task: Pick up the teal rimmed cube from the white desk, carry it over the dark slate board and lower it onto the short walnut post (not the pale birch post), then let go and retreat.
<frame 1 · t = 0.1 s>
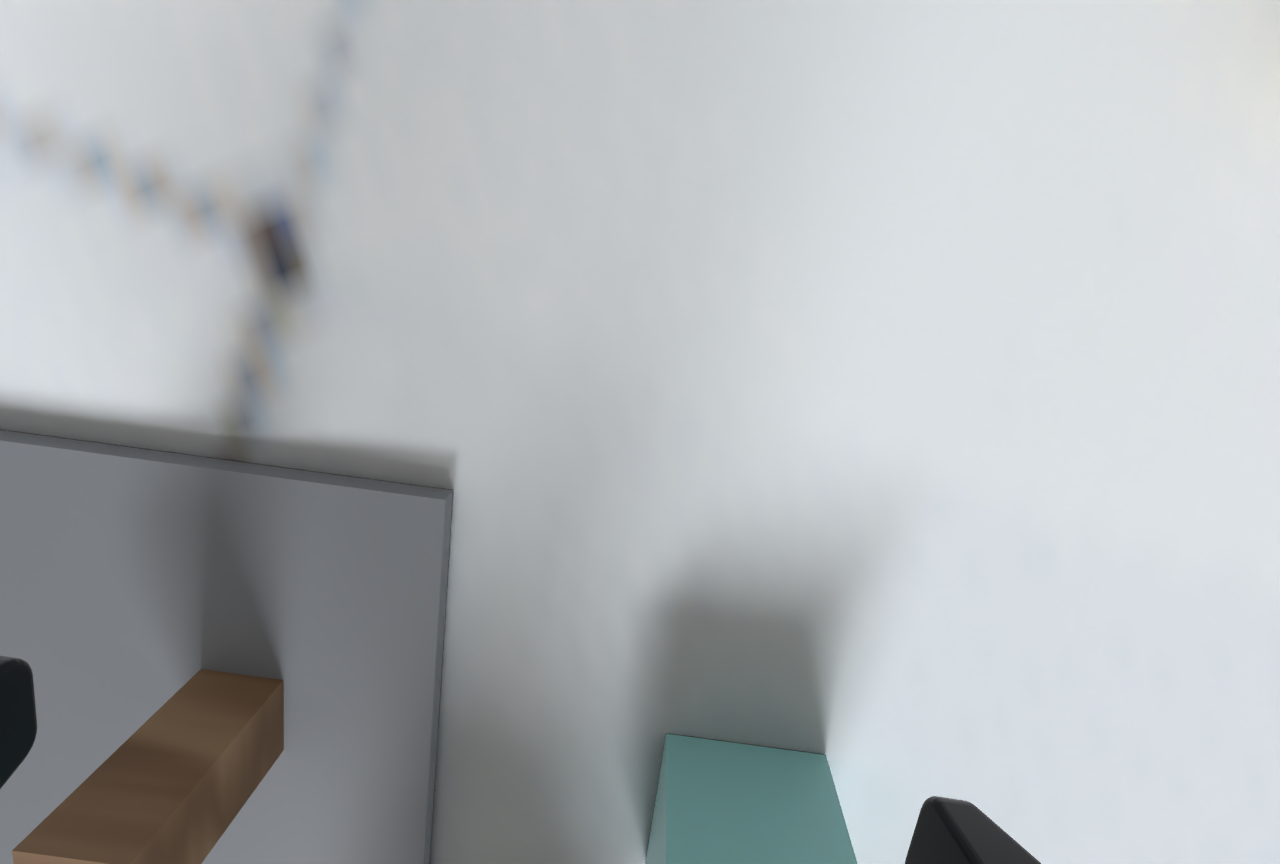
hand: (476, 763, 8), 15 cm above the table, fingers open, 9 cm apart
slate board: (43, 666, 25), on the table
walnut post: (242, 710, 24), resting on slate board
teal rimmed cube: (733, 809, 25), on the table
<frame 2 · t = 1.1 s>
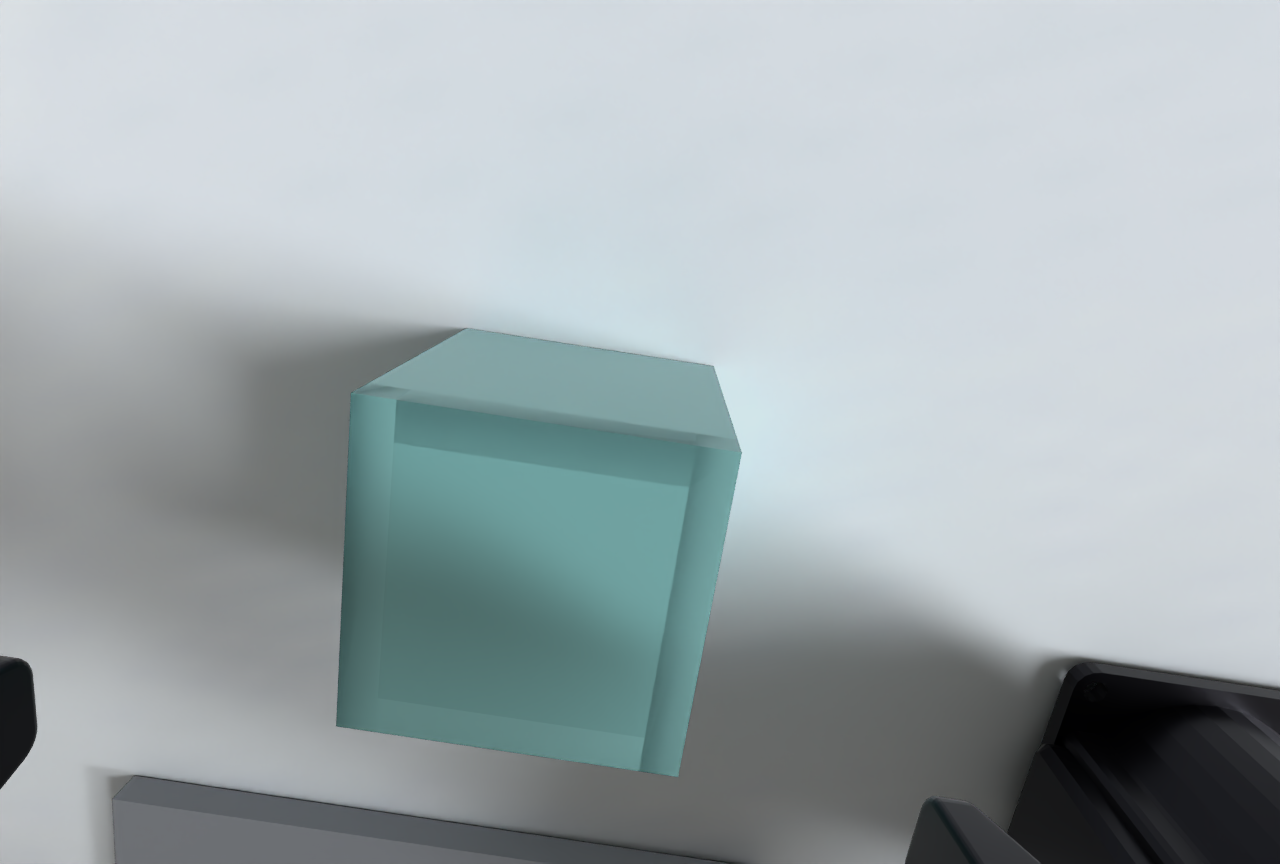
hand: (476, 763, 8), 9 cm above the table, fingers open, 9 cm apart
teal rimmed cube: (574, 464, 16), on the table
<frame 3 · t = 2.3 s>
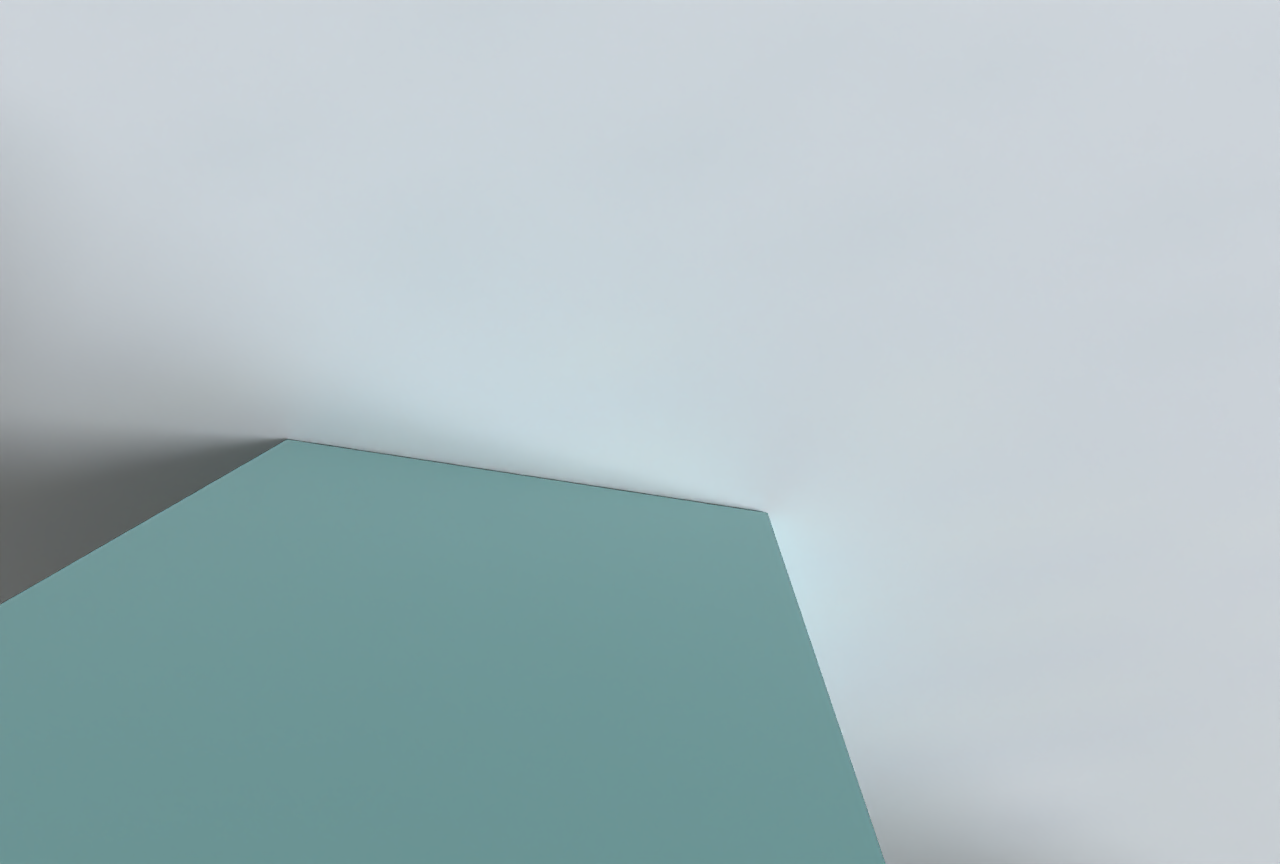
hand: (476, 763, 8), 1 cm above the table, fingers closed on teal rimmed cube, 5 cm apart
teal rimmed cube: (503, 684, 9), on the table, touching gripper
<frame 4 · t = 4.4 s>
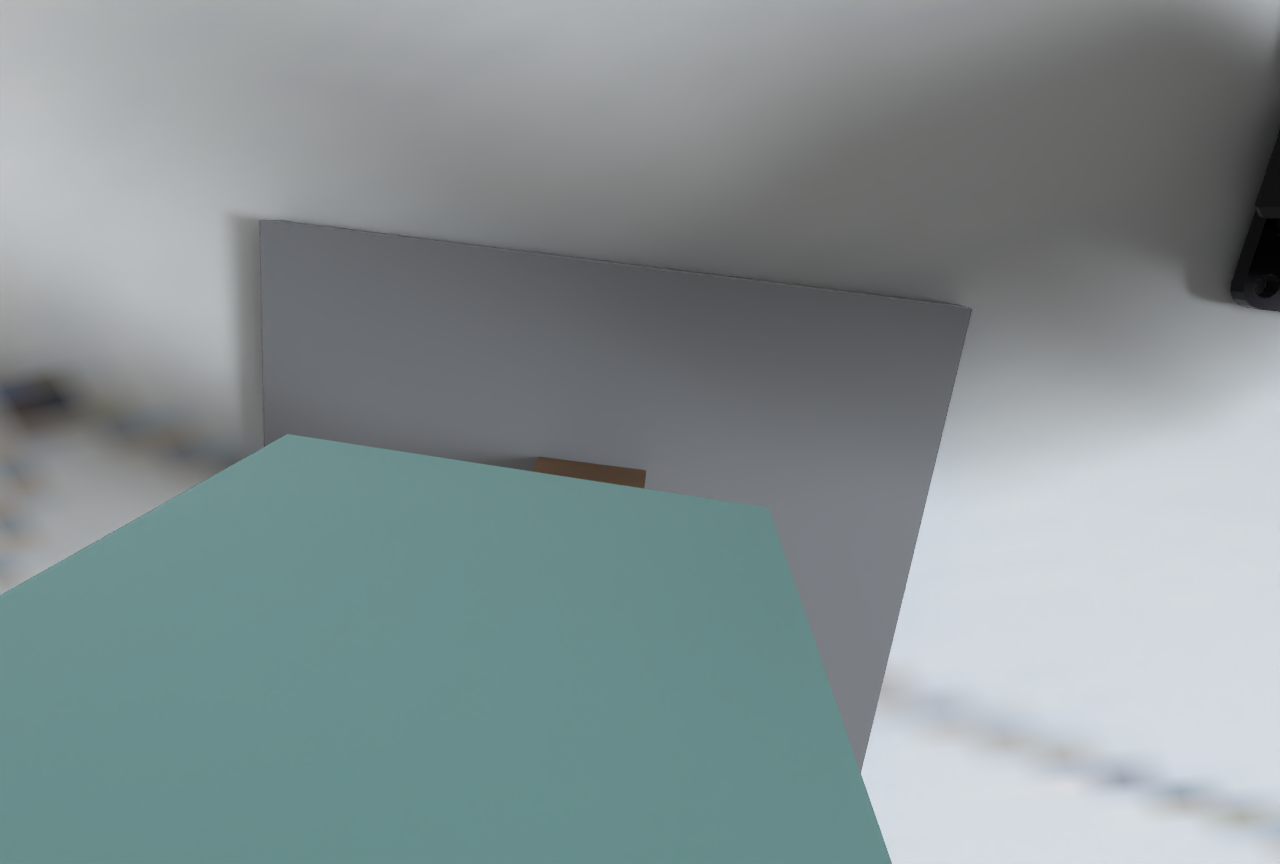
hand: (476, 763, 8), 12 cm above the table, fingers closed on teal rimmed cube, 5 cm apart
slate board: (566, 733, 21), on the table
walnut post: (587, 513, 18), resting on slate board
teal rimmed cube: (504, 680, 9), point 10 cm above the table, touching gripper
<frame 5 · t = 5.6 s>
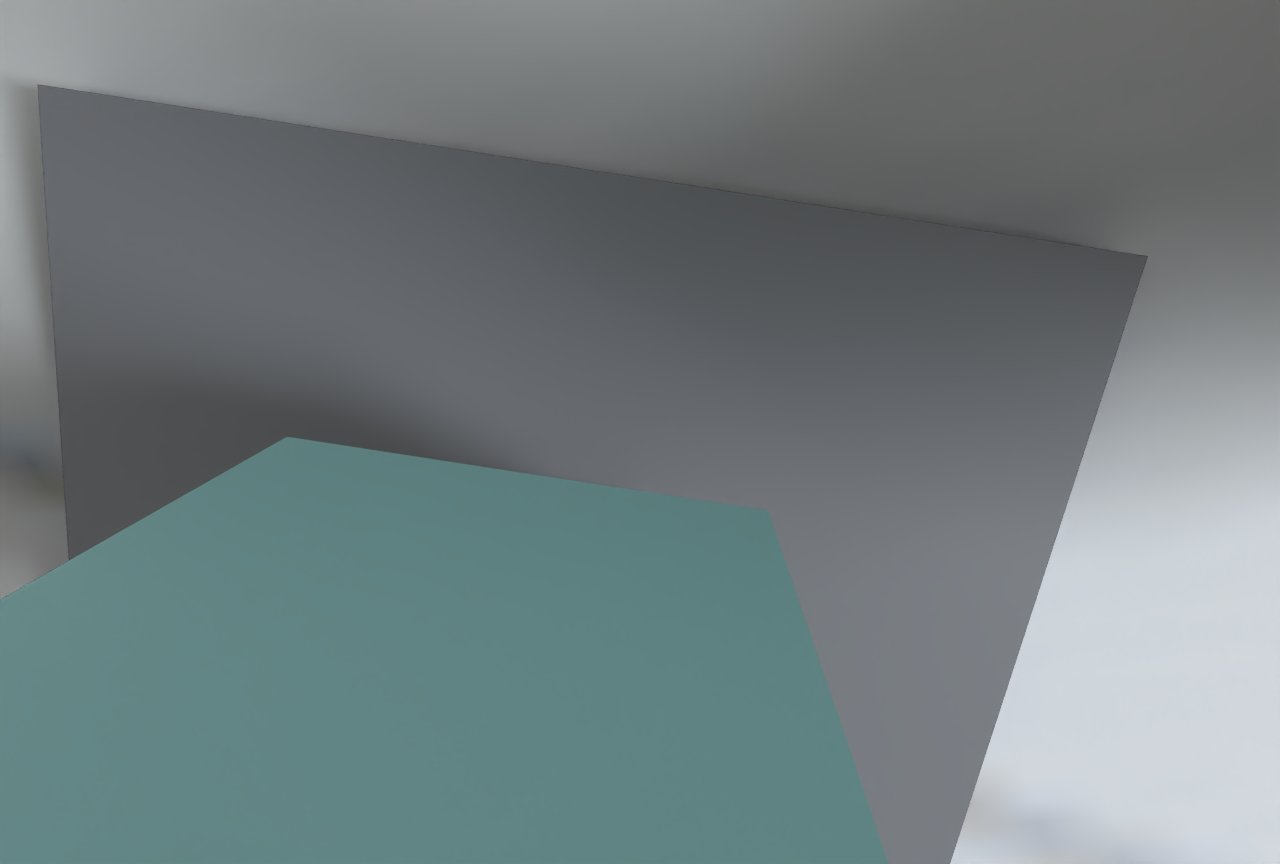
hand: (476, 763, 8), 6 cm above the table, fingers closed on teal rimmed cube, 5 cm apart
slate board: (513, 853, 15), on the table
teal rimmed cube: (504, 682, 9), point 5 cm above the table, touching gripper
when the fingers open (5 cm above the table, at t = 6.5 s): teal rimmed cube drops 2 cm, resting on walnut post.
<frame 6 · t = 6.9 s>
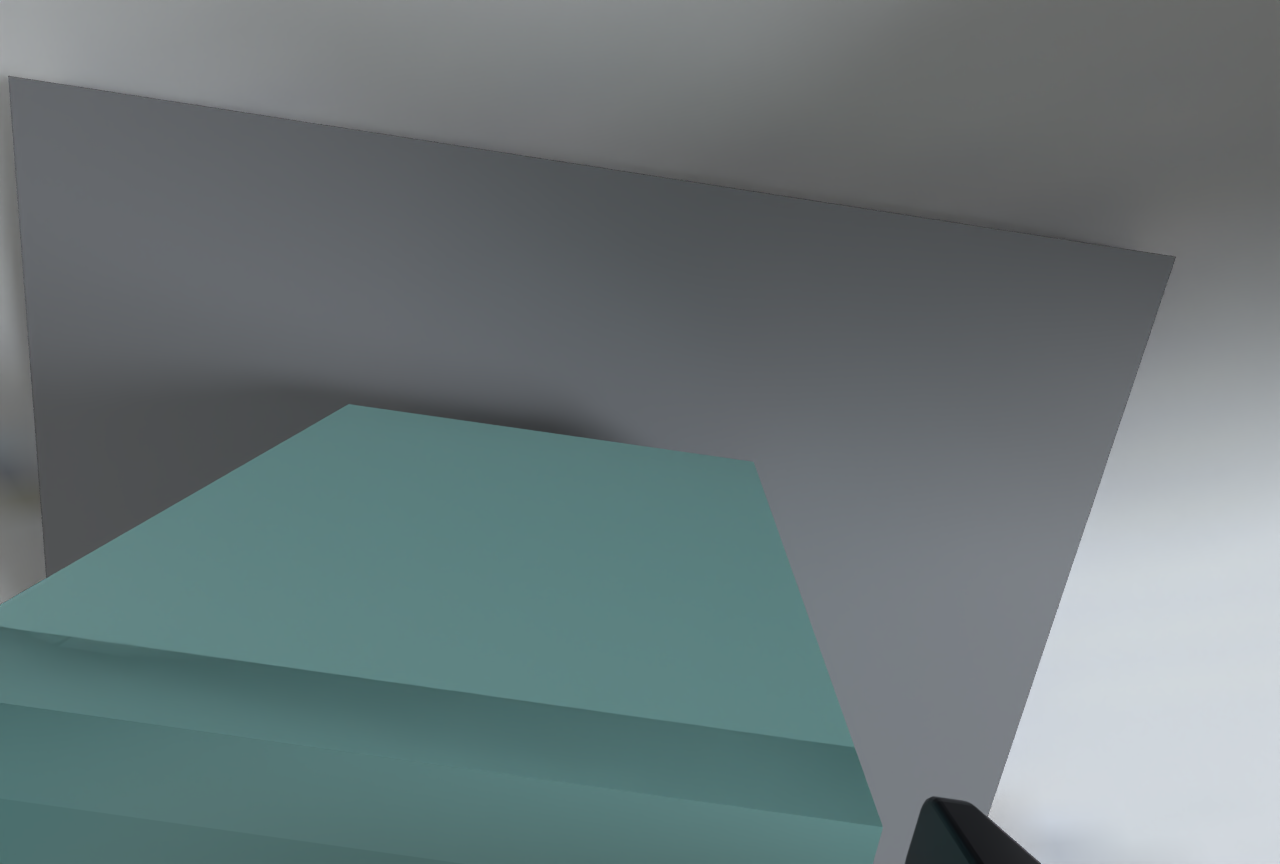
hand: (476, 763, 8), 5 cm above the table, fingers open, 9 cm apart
teal rimmed cube: (531, 614, 10), point 2 cm above the table, touching walnut post
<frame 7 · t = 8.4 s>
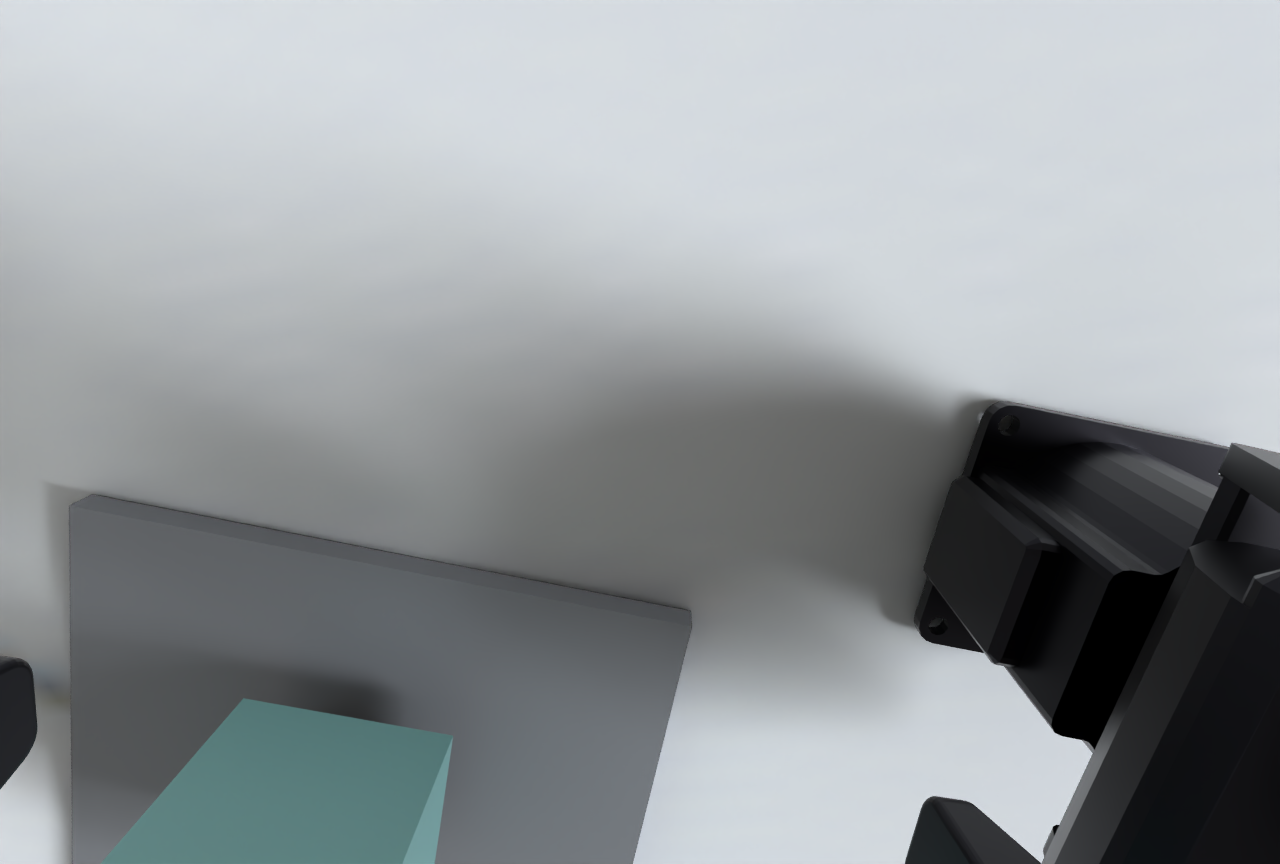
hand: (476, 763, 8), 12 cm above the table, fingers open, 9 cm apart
teal rimmed cube: (340, 802, 19), point 2 cm above the table, touching walnut post
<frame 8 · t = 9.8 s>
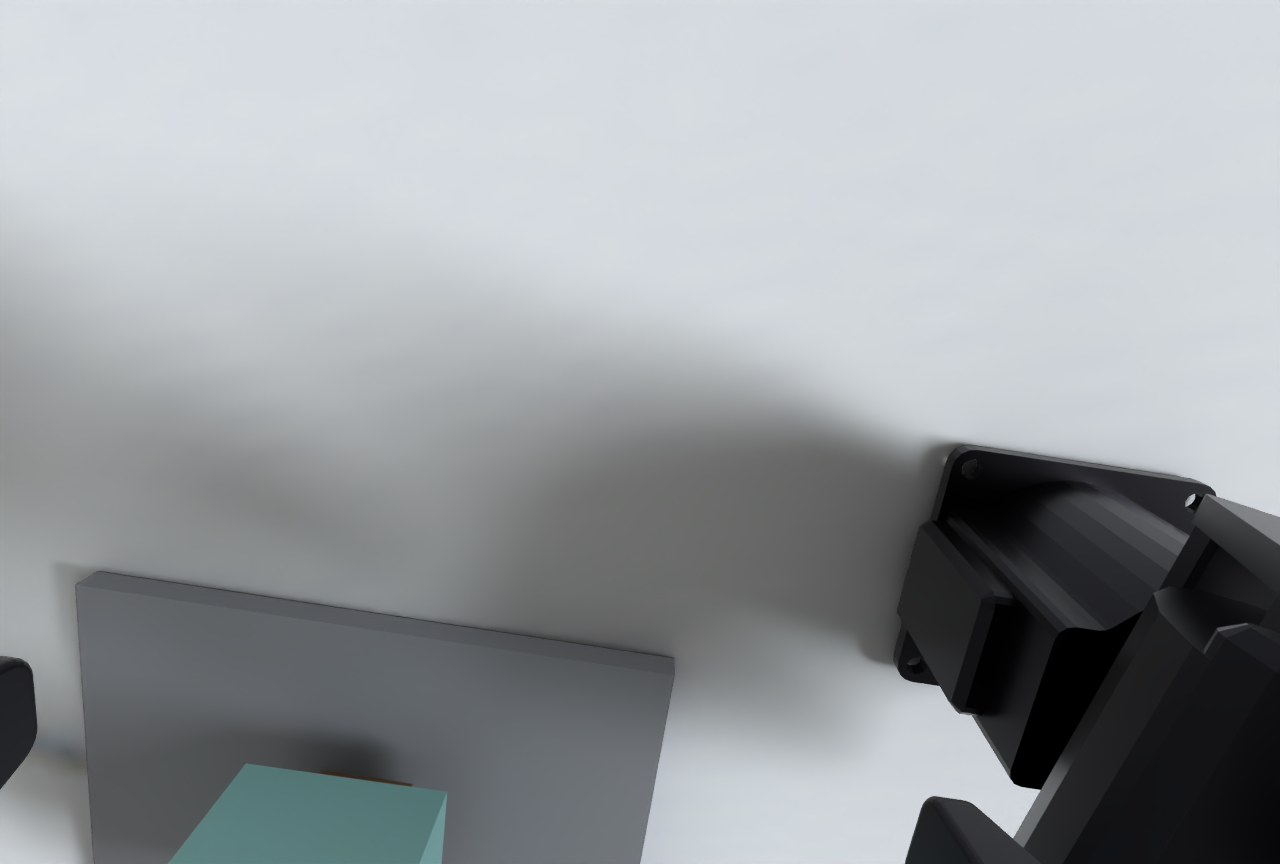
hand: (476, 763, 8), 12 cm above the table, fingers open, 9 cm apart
walnut post: (364, 814, 22), resting on slate board
teal rimmed cube: (343, 858, 20), point 2 cm above the table, touching walnut post
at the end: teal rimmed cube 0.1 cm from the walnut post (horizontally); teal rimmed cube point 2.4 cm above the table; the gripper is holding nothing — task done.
